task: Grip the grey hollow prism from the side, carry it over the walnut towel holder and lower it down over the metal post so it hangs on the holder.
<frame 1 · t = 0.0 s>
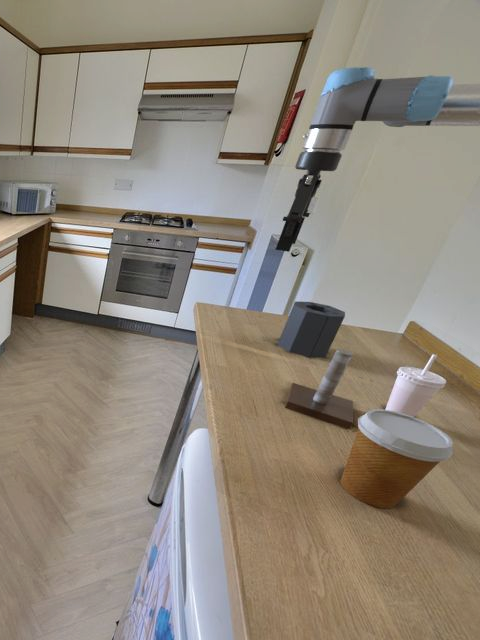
hand: (285, 246, 100), 25 cm above the countertop, tool pointing down, fingers open, 13 cm apart
towel holder: (317, 407, 82), on the countertop
disposable coffee cup: (366, 493, 61), on the countertop
smoothie: (396, 418, 80), on the countertop
grey hollow prism: (299, 351, 106), on the countertop
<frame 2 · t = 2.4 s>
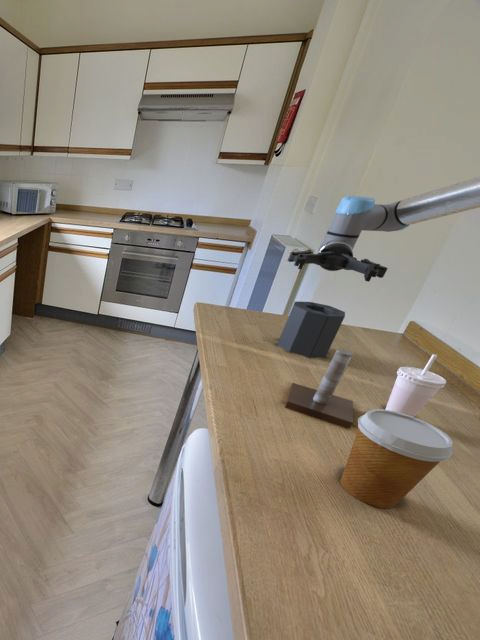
hand: (334, 269, 103), 20 cm above the countertop, tool horizontal, fingers open, 13 cm apart
nothing on the countertop moved.
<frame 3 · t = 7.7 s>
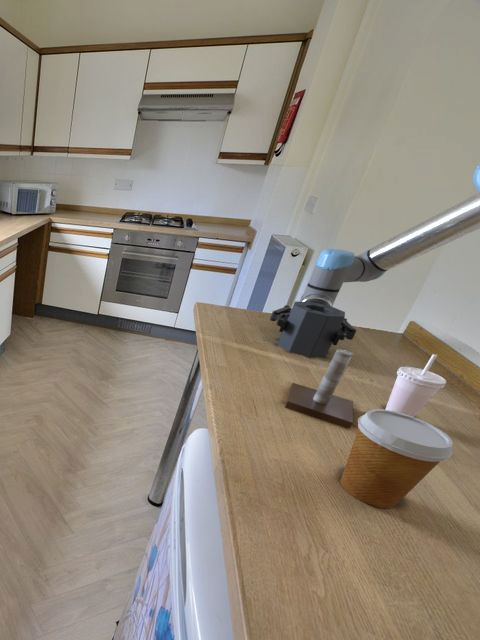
hand: (308, 333, 100), 7 cm above the countertop, tool horizontal, fingers closed on grey hollow prism, 10 cm apart
grey hollow prism: (299, 351, 106), on the countertop, touching gripper
everything else where it was.
when the fingers open (8 cm above the countertop, at t = 18.9 s): grey hollow prism stays where it is, resting on towel holder.
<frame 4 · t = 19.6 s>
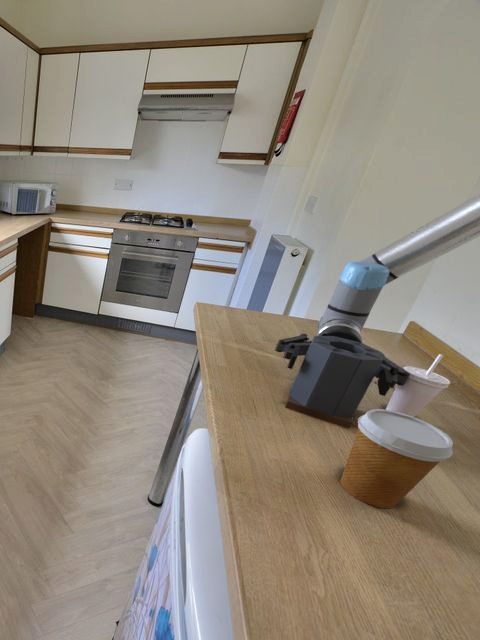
hand: (336, 375, 76), 9 cm above the countertop, tool horizontal, fingers open, 13 cm apart
smoothie: (396, 417, 80), on the countertop, touching hand
grey hollow prism: (320, 401, 81), point 1 cm above the countertop, touching towel holder
everything else where it was.
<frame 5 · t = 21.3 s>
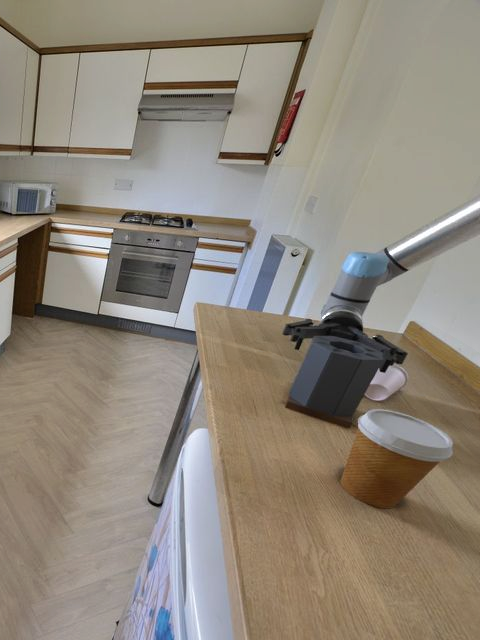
hand: (340, 354, 82), 10 cm above the countertop, tool horizontal, fingers open, 13 cm apart
smoothie: (375, 392, 83), point 3 cm above the countertop
everything else where it was.
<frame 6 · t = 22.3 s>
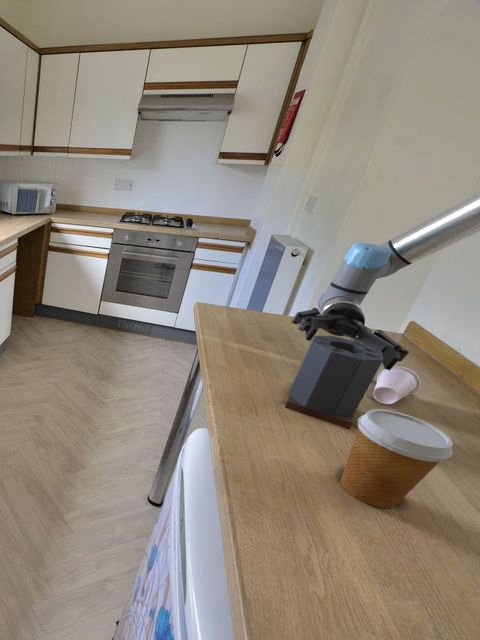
hand: (350, 349, 83), 10 cm above the countertop, tool horizontal, fingers open, 13 cm apart
smoothie: (385, 395, 82), point 3 cm above the countertop
everything else where it was.
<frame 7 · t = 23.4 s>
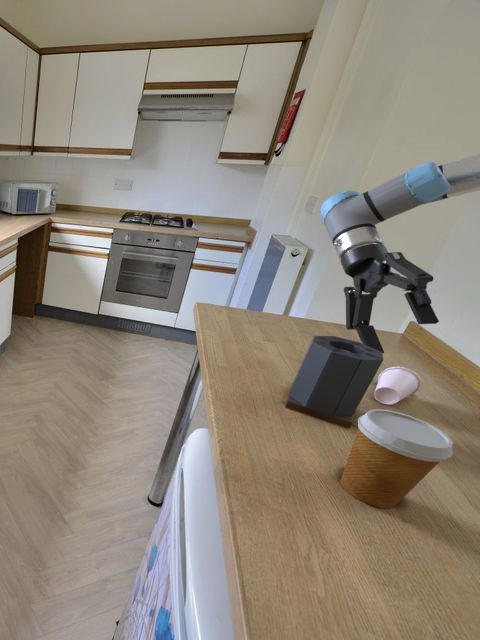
hand: (400, 339, 81), 13 cm above the countertop, tool tilted 50°, fingers open, 13 cm apart
nothing on the countertop moved.
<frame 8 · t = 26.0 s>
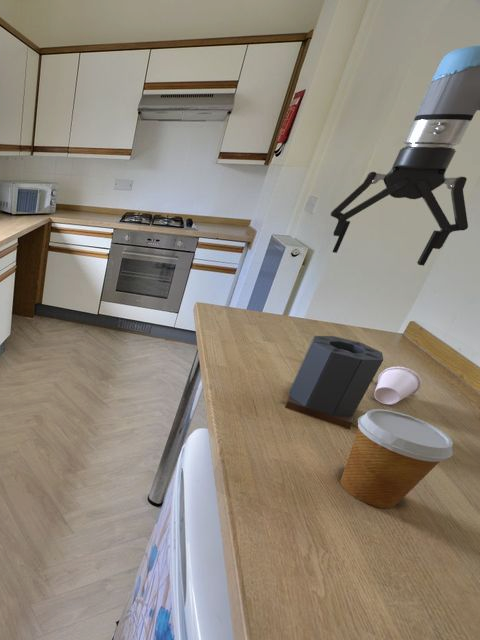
hand: (375, 257, 86), 27 cm above the countertop, tool pointing down, fingers open, 13 cm apart
nothing on the countertop moved.
at the end: grey hollow prism 0.1 cm off-centre on the towel holder, point 1.5 cm above the towel holder's base; grey hollow prism tilted 0°; the gripper is holding nothing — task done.
